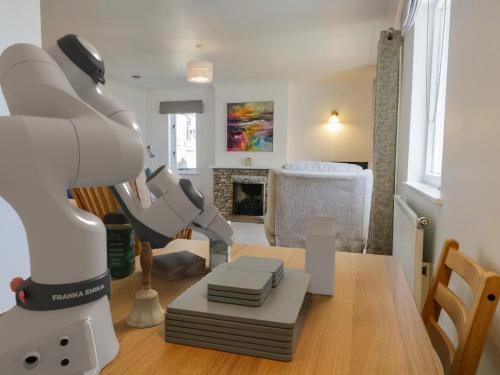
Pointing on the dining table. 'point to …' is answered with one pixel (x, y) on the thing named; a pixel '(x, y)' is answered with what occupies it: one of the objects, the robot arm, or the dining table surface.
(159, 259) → the podium
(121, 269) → the coffee jar
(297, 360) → the dining table surface
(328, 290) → the milk carton
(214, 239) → the syrup box
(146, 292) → the hand bell
